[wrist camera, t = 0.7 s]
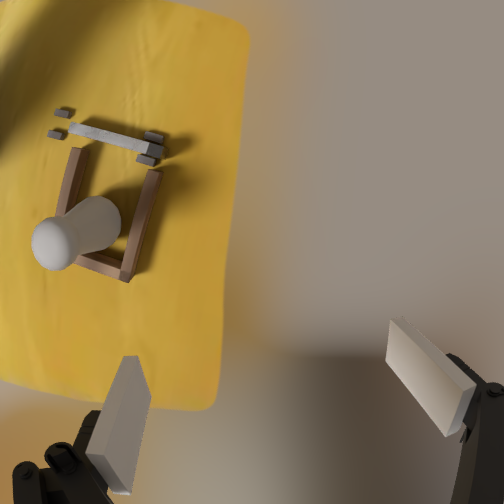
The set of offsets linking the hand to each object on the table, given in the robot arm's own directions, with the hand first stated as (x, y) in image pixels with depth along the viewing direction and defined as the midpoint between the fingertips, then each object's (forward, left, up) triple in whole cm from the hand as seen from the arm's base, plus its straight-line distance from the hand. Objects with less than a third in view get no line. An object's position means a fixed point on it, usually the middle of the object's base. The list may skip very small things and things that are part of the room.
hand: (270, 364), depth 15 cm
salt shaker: (-14, -8, -22) cm, 27 cm away
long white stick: (-18, 0, -21) cm, 28 cm away
